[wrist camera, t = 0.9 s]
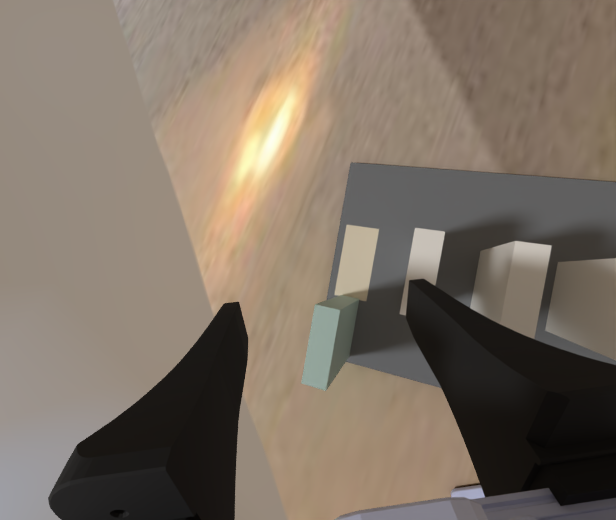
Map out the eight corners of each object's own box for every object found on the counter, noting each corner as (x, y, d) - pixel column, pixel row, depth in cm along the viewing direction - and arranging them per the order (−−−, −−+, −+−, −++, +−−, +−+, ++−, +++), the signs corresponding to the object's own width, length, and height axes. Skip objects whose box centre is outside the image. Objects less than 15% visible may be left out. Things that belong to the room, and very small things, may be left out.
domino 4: (584, 265, 22) (681, 262, 14) (571, 336, 22) (660, 370, 14) (558, 261, 22) (636, 256, 15) (545, 330, 22) (616, 361, 15)
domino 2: (433, 244, 25) (445, 231, 17) (422, 305, 25) (429, 320, 17) (412, 241, 25) (415, 227, 18) (401, 301, 25) (399, 314, 18)
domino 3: (504, 254, 23) (551, 245, 16) (492, 319, 23) (533, 343, 16) (480, 250, 24) (515, 240, 16) (468, 314, 24) (498, 335, 16)
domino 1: (359, 298, 26) (340, 309, 19) (349, 356, 26) (325, 390, 19) (341, 295, 27) (315, 304, 19) (331, 351, 27) (301, 383, 19)
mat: (714, 191, 20) (720, 189, 20) (664, 447, 20) (669, 450, 20) (351, 164, 27) (350, 162, 27) (318, 352, 28) (317, 353, 27)
